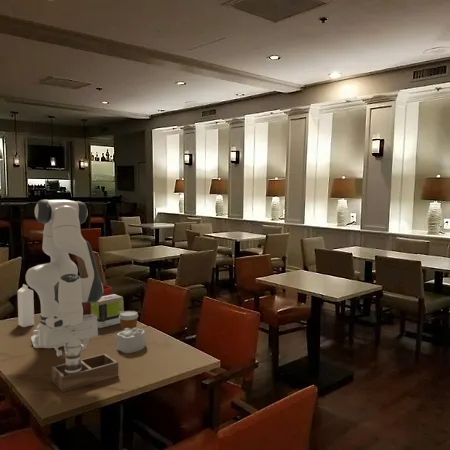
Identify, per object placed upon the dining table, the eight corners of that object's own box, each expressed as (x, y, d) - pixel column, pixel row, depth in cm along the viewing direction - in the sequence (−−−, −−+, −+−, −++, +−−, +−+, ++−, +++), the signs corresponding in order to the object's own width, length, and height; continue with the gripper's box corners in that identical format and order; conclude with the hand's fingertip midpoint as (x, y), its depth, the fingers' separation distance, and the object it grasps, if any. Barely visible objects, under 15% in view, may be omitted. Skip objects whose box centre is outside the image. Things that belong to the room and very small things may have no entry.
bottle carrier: (51, 381, 169) (51, 367, 169) (105, 366, 184) (104, 353, 183) (63, 392, 160) (62, 377, 160) (118, 375, 175) (118, 362, 174)
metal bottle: (66, 376, 172) (65, 326, 170) (84, 376, 172) (83, 326, 170) (61, 383, 165) (60, 332, 164) (80, 383, 166) (79, 332, 164)
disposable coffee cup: (132, 341, 213) (132, 317, 212) (115, 338, 217) (115, 315, 215) (142, 334, 222) (141, 311, 221) (125, 332, 226) (125, 309, 224)
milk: (23, 327, 232) (21, 286, 230) (18, 324, 236) (16, 284, 234) (34, 324, 236) (33, 284, 234) (29, 322, 240) (28, 282, 238)
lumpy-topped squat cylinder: (114, 348, 204) (113, 330, 203) (136, 341, 213) (136, 324, 213) (127, 354, 197) (127, 335, 196) (150, 346, 206) (150, 328, 206)
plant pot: (99, 308, 268) (98, 281, 266) (113, 316, 253) (112, 287, 252) (68, 314, 255) (67, 286, 254) (81, 322, 241) (80, 292, 239)
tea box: (115, 318, 249) (115, 293, 247) (124, 323, 241) (124, 296, 240) (90, 324, 238) (90, 297, 237) (99, 328, 231) (98, 301, 230)
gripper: (93, 310, 175) (94, 344, 177) (40, 320, 162) (41, 356, 163) (100, 314, 171) (100, 348, 172) (46, 324, 157) (47, 361, 159)
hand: (71, 352), depth 168 cm, fingers open, 8 cm apart
